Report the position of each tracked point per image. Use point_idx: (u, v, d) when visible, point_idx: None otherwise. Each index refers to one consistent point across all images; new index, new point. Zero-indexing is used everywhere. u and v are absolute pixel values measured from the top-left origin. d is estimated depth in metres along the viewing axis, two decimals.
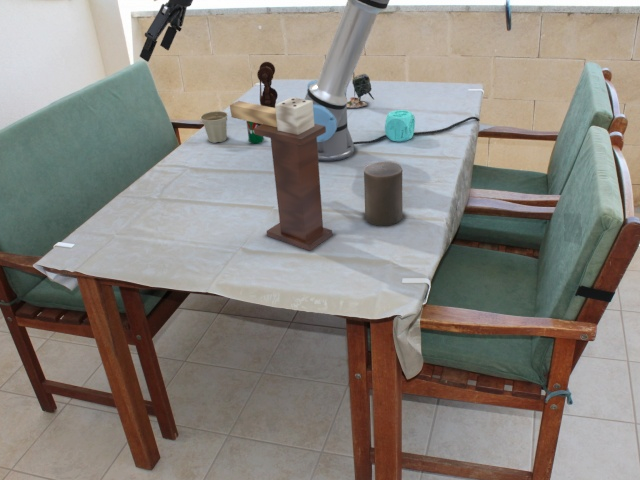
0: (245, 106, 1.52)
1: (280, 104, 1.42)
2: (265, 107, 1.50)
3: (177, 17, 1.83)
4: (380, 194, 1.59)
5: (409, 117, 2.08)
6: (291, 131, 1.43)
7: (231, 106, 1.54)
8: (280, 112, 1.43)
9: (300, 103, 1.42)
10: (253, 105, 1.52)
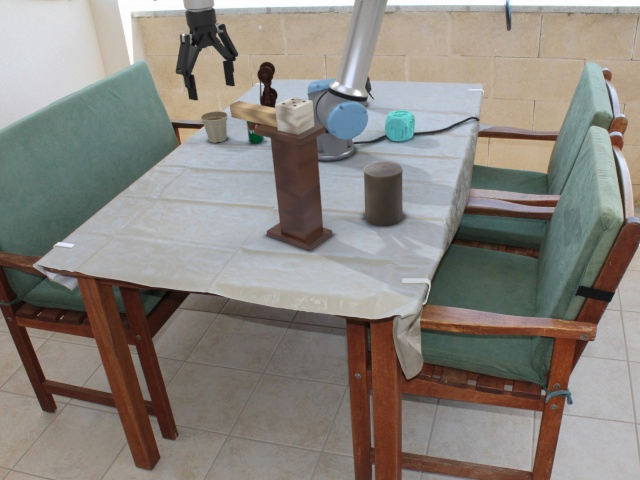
0: (245, 106, 1.52)
1: (280, 104, 1.42)
2: (265, 107, 1.50)
3: (217, 45, 1.68)
4: (380, 194, 1.59)
5: (409, 117, 2.08)
6: (291, 131, 1.43)
7: (231, 106, 1.54)
8: (280, 112, 1.43)
9: (300, 103, 1.42)
10: (253, 105, 1.52)
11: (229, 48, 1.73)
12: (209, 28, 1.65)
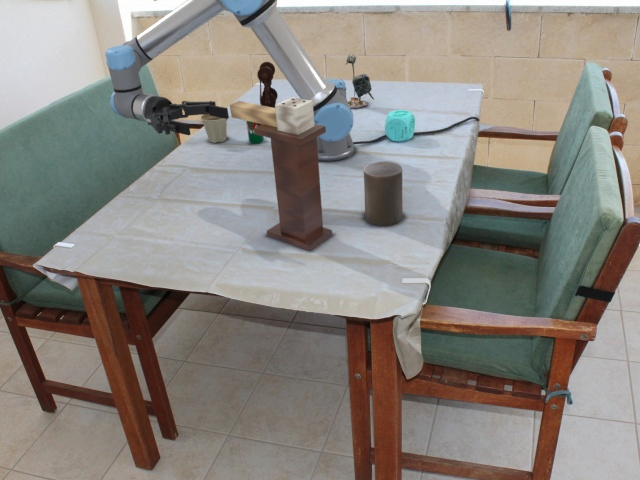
0: (245, 106, 1.52)
1: (280, 104, 1.42)
2: (265, 107, 1.50)
3: (185, 107, 1.72)
4: (380, 194, 1.59)
5: (409, 117, 2.08)
6: (291, 131, 1.43)
7: (231, 106, 1.54)
8: (280, 112, 1.43)
9: (300, 103, 1.42)
10: (253, 105, 1.52)
11: None
12: (168, 106, 1.73)
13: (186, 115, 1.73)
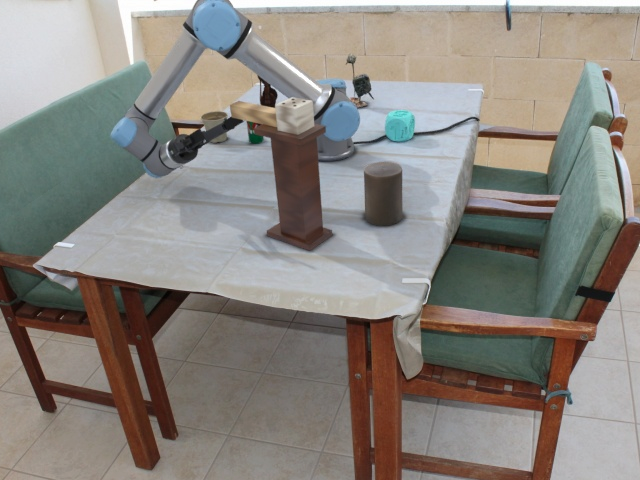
0: (245, 106, 1.52)
1: (280, 104, 1.42)
2: (265, 107, 1.50)
3: (204, 132, 1.72)
4: (380, 194, 1.59)
5: (409, 117, 2.08)
6: (291, 131, 1.43)
7: (231, 106, 1.54)
8: (280, 112, 1.43)
9: (300, 103, 1.42)
10: (253, 105, 1.52)
11: None
12: None
13: (207, 140, 1.73)
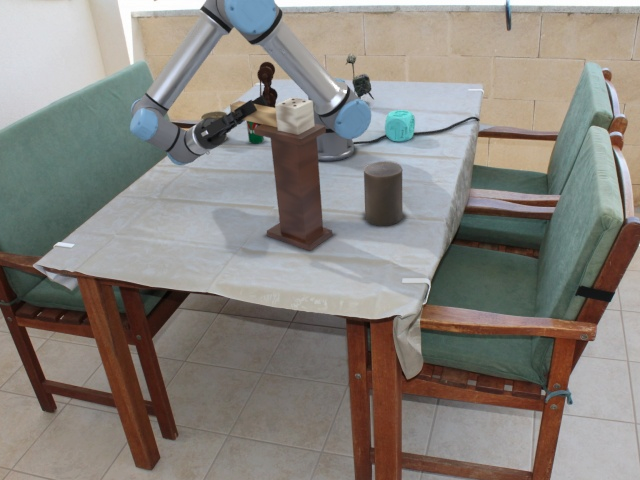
0: None
1: (280, 104, 1.42)
2: (265, 107, 1.50)
3: None
4: (380, 194, 1.59)
5: (409, 117, 2.08)
6: (291, 131, 1.43)
7: (231, 106, 1.54)
8: (280, 112, 1.43)
9: (300, 103, 1.42)
10: None
11: None
12: None
13: (232, 125, 1.61)
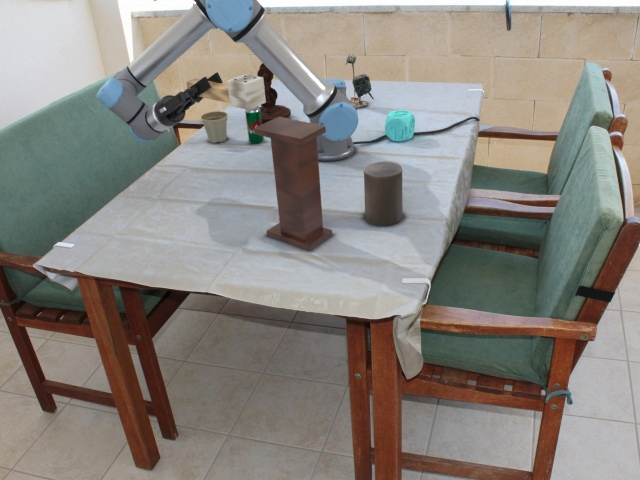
0: None
1: (231, 80, 1.48)
2: (220, 84, 1.56)
3: None
4: (380, 194, 1.59)
5: (409, 117, 2.08)
6: (242, 106, 1.49)
7: (188, 83, 1.60)
8: (232, 87, 1.49)
9: (251, 79, 1.48)
10: None
11: None
12: None
13: (190, 102, 1.67)
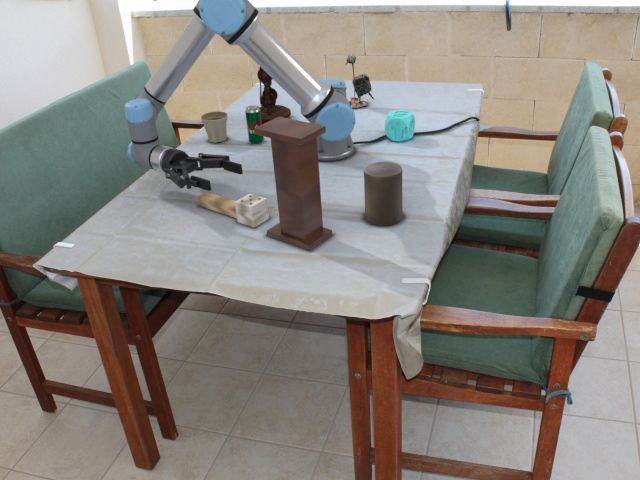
0: (211, 198, 1.77)
1: (238, 202, 1.67)
2: (228, 199, 1.75)
3: (200, 161, 1.78)
4: (380, 194, 1.59)
5: (409, 117, 2.08)
6: (248, 224, 1.68)
7: (199, 197, 1.79)
8: (239, 208, 1.67)
9: (256, 200, 1.67)
10: (218, 197, 1.77)
11: None
12: (185, 159, 1.79)
13: (201, 168, 1.79)
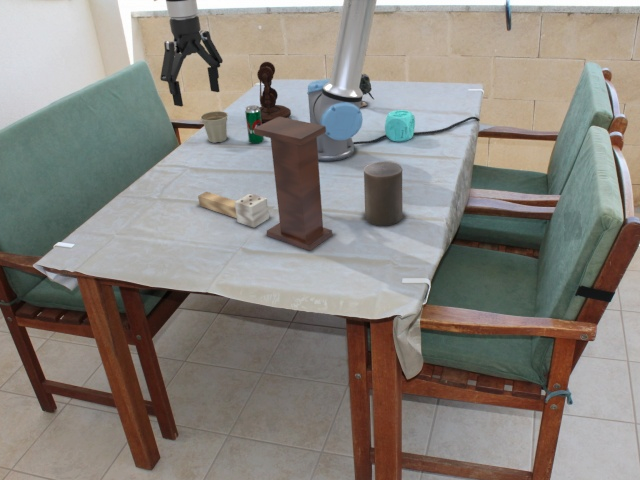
0: (211, 198, 1.77)
1: (238, 202, 1.67)
2: (228, 199, 1.75)
3: (201, 52, 1.71)
4: (380, 194, 1.59)
5: (409, 117, 2.08)
6: (248, 224, 1.68)
7: (199, 197, 1.79)
8: (239, 208, 1.67)
9: (256, 200, 1.67)
10: (218, 197, 1.77)
11: (213, 55, 1.76)
12: (193, 35, 1.68)
13: None
